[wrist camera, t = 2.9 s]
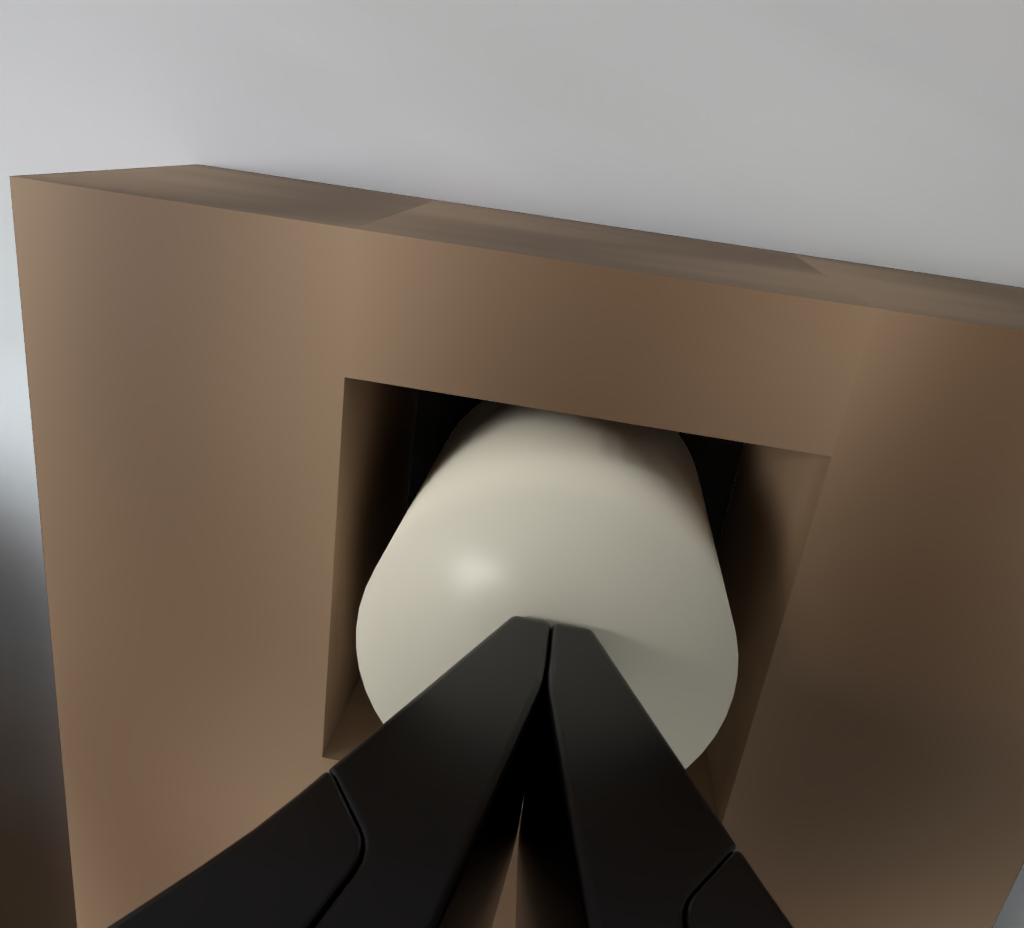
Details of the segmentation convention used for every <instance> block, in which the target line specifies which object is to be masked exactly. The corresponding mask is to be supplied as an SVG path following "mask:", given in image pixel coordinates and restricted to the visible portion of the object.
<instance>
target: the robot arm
mask: <svg viewBox="0 0 1024 928" xmlns="http://www.w3.org/2000/svg"><path fill="white" fill-rule="evenodd" d="M550 632H551V633H550ZM523 799H524V800H523ZM522 805H523V807H522ZM521 811H522V813H521ZM520 816H521V821H520ZM519 822H520V829H519V838H518V854H517V886H516V928H794V927H793V926H792V924H791V923H790V922H789V920H788V919H787V917H786V916H785V915H784V913H783V912H782V910H781V909H780V908H779V906H778V905H777V903H776V902H775V900H774V899H773V898H772V896H771V895H770V893H769V892H768V891H767V889H766V888H765V886H764V885H763V884H762V882H761V881H760V879H759V878H758V876H757V875H756V873H755V872H754V870H753V869H752V867H751V866H750V864H749V863H748V861H747V860H746V858H745V857H744V855H743V854H742V853H741V852H739V851H737V846H736V844H735V843H734V841H733V840H732V838H731V837H730V835H729V834H728V832H727V831H726V829H725V828H724V826H723V825H722V823H721V822H720V820H719V819H718V817H717V816H716V814H715V813H714V811H713V810H712V808H711V807H710V805H709V804H708V802H707V801H706V799H705V798H704V796H703V795H702V793H701V792H700V790H699V789H698V787H697V786H696V784H695V783H694V781H693V780H692V778H691V777H690V776H689V774H688V773H687V771H686V770H685V768H684V767H683V765H682V764H681V762H680V761H679V759H678V758H677V756H676V755H675V753H674V752H673V750H672V749H671V747H670V746H669V744H668V743H667V741H666V740H665V738H664V737H663V735H662V734H661V732H660V731H659V729H658V728H657V726H656V725H655V723H654V722H653V720H652V719H651V717H650V716H649V714H648V713H647V711H646V710H645V708H644V707H643V705H642V704H641V702H640V701H639V700H638V698H637V697H636V695H635V694H634V692H633V691H632V689H631V688H630V686H629V685H628V683H627V682H626V680H625V679H624V677H623V676H622V674H621V673H620V671H619V670H618V668H617V667H616V665H615V664H614V662H613V661H612V659H611V658H610V656H609V655H608V653H607V652H606V650H605V649H604V647H603V646H602V644H601V643H600V641H599V640H598V638H597V637H596V635H595V634H594V633H593V632H592V631H591V630H590V629H587V628H582V627H576V626H571V625H565V624H555V625H554V626H553V627H552V629H551V627H550V624H549V623H548V622H546V621H543V620H537V619H531V618H526V617H520V616H513V617H511V618H509V619H508V620H507V621H506V622H505V623H503V624H502V625H501V626H500V627H499V628H497V629H496V630H495V631H494V632H493V633H491V634H490V635H489V636H488V637H487V638H485V639H484V640H483V641H482V642H481V643H479V644H478V645H477V646H476V647H475V648H473V649H472V650H471V651H470V652H469V653H468V654H466V655H465V656H464V657H463V658H462V659H460V660H459V661H458V662H457V663H456V664H454V665H453V666H452V667H451V668H450V669H448V670H447V671H446V672H445V673H444V674H442V675H441V676H440V677H439V678H438V679H436V680H435V681H434V682H433V683H432V684H430V685H429V686H428V687H427V688H426V689H424V690H423V691H422V692H421V693H420V694H418V695H417V696H416V697H415V698H414V699H413V700H411V701H410V702H409V703H408V704H407V705H405V706H404V707H403V708H402V709H401V710H399V711H398V712H397V713H396V714H395V715H393V716H392V717H391V718H390V719H389V720H387V721H386V722H385V723H384V724H383V725H381V726H380V727H379V728H378V729H377V730H375V731H374V732H373V733H372V734H371V735H369V736H368V737H367V738H366V739H365V740H363V741H362V742H361V743H360V744H359V745H357V746H356V747H355V748H354V749H353V750H352V751H350V752H349V753H348V754H347V755H346V756H344V757H343V758H342V759H341V760H340V761H338V762H337V763H336V764H335V765H334V766H332V767H331V768H330V770H329V773H328V772H326V773H323V774H322V775H321V776H320V777H319V778H317V779H316V780H315V781H314V782H313V783H311V784H310V785H309V786H308V787H307V788H305V789H304V790H303V791H302V792H301V793H299V794H298V795H297V796H296V797H294V798H293V799H292V800H291V801H289V802H288V803H287V804H285V805H284V806H283V807H282V808H280V809H279V810H278V811H277V812H275V813H274V814H273V815H271V816H270V817H269V818H268V819H266V820H265V821H264V822H262V823H261V824H260V825H259V826H257V827H256V828H255V829H253V830H252V831H251V832H249V833H248V834H246V835H245V836H243V837H242V838H240V839H239V840H238V841H236V842H235V843H233V844H232V845H230V846H229V847H227V848H226V849H225V850H223V851H222V852H220V853H219V854H217V855H216V856H214V857H213V858H212V859H210V860H209V861H207V862H206V863H204V864H203V865H201V866H200V867H199V868H197V869H195V870H194V871H192V872H191V873H189V874H188V875H186V876H185V877H183V878H182V879H180V880H179V881H177V882H176V883H174V884H173V885H171V886H170V887H168V888H166V889H165V890H163V891H162V892H160V893H159V894H157V895H156V896H154V897H153V898H151V899H150V900H148V901H147V902H145V903H144V904H142V905H141V906H139V907H137V908H136V909H134V910H133V911H131V912H130V913H128V914H127V915H125V916H124V917H122V918H121V919H119V920H118V921H116V922H115V923H113V924H112V925H110V926H109V927H107V928H492V925H493V921H494V918H495V914H496V911H497V907H498V904H499V900H500V897H501V893H502V890H503V886H504V883H505V879H506V876H507V872H508V869H509V865H510V862H511V858H512V854H513V850H514V846H515V842H516V838H517V832H518V827H519Z"/></svg>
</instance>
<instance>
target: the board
mask: <svg viewBox="0 0 1024 928" xmlns="http://www.w3.org/2000/svg"><path fill="white" fill-rule="evenodd" d="M10 187H11V198H12V209H13V220H14V231H15V242H16V253H17V264H18V275H19V287H20V298H21V309H22V320H23V331H24V342H25V353H26V364H27V375H28V387H29V398H30V409H31V420H32V431H33V442H34V453H35V464H36V475H37V487H38V498H39V509H40V520H41V531H42V542H43V553H44V564H45V575H46V587H47V598H48V609H49V620H50V631H51V642H52V653H53V664H54V676H55V687H56V698H57V709H58V720H59V731H60V742H61V753H62V764H63V776H64V787H65V798H66V809H67V820H68V831H69V842H70V853H71V864H72V876H73V887H74V898H75V909H76V920H77V928H107V927H109V926H110V925H112V924H113V923H115V922H116V921H118V920H119V919H121V918H122V917H124V916H125V915H127V914H128V913H130V912H131V911H133V910H134V909H136V908H137V907H139V906H141V905H142V904H144V903H145V902H147V901H148V900H150V899H151V898H153V897H154V896H156V895H157V894H159V893H160V892H162V891H163V890H165V889H166V888H168V887H170V886H171V885H173V884H174V883H176V882H177V881H179V880H180V879H182V878H183V877H185V876H186V875H188V874H189V873H191V872H192V871H194V870H195V869H197V868H199V867H200V866H201V865H203V864H204V863H206V862H207V861H209V860H210V859H212V858H213V857H214V856H216V855H217V854H219V853H220V852H222V851H223V850H225V849H226V848H227V847H229V846H230V845H232V844H233V843H235V842H236V841H238V840H239V839H240V838H242V837H243V836H245V835H246V834H248V833H249V832H251V831H252V830H253V829H255V828H256V827H257V826H259V825H260V824H261V823H262V822H264V821H265V820H266V819H268V818H269V817H270V816H271V815H273V814H274V813H275V812H277V811H278V810H279V809H280V808H282V807H283V806H284V805H285V804H287V803H288V802H289V801H291V800H292V799H293V798H294V797H296V796H297V795H298V794H299V793H301V792H302V791H303V790H304V789H305V788H307V787H308V786H309V785H310V784H311V783H313V782H314V781H315V780H316V779H317V778H319V777H320V776H321V775H322V774H323V773H326V772H328V773H329V770H330V768H331V767H332V766H334V765H335V764H336V763H337V762H338V761H340V760H341V759H342V758H343V757H344V756H346V755H347V754H348V753H349V752H350V751H352V750H353V749H354V748H355V747H356V746H357V745H359V744H360V743H361V742H362V741H363V740H365V739H366V738H367V737H368V736H369V735H371V734H372V733H373V732H374V731H375V730H377V729H378V728H379V727H380V726H381V725H383V723H382V721H381V719H380V718H379V716H378V715H377V713H376V711H375V710H374V708H373V706H372V703H371V701H370V699H369V697H368V695H367V693H366V690H365V687H364V684H363V681H362V677H361V674H360V671H359V665H358V658H357V651H356V626H357V619H358V613H359V607H360V604H361V601H362V597H363V594H364V591H365V588H366V586H367V584H368V582H369V580H370V578H371V576H372V574H373V572H374V570H375V568H376V566H377V564H378V562H379V561H380V559H381V557H382V555H383V553H384V552H385V550H386V548H387V546H388V544H389V543H390V541H391V539H392V537H393V536H394V534H395V532H396V530H397V528H398V527H399V525H400V523H401V521H402V520H403V518H404V516H405V514H406V512H407V505H408V494H409V483H410V473H411V462H412V452H413V441H414V430H415V420H416V409H417V398H418V389H420V390H426V391H432V392H438V393H445V394H451V395H457V396H463V397H469V398H475V399H481V400H487V401H494V402H500V403H506V404H512V405H518V406H524V407H530V408H536V409H542V410H549V411H555V412H561V413H567V414H573V415H579V416H585V417H591V418H598V419H604V420H610V421H616V422H622V423H628V424H634V425H640V426H646V427H653V428H659V429H665V430H671V431H677V432H683V433H689V434H695V435H701V436H708V437H714V438H720V439H726V440H732V441H738V442H744V445H743V449H742V453H741V457H740V461H739V465H738V469H737V473H736V477H735V481H734V485H733V489H732V493H731V496H730V500H729V504H728V508H727V512H726V516H725V520H724V524H723V528H722V532H721V536H720V540H719V544H718V548H717V551H716V552H717V556H718V561H719V565H720V569H721V573H722V577H723V581H724V585H725V590H726V594H727V598H728V602H729V606H730V610H731V614H732V619H733V623H734V627H735V631H736V638H737V647H738V676H737V681H736V686H735V691H734V696H733V699H732V702H731V705H730V707H729V710H728V713H727V715H726V718H725V720H724V721H723V723H722V725H721V727H720V729H719V730H718V732H717V734H716V736H715V737H714V738H713V740H712V741H711V742H710V744H709V745H708V746H707V748H706V749H705V750H704V751H703V753H702V754H701V755H700V756H699V757H698V758H697V759H696V760H695V761H694V762H693V763H692V764H691V765H690V766H689V767H687V768H686V769H685V770H686V771H687V773H688V774H689V776H690V777H691V778H692V780H693V781H694V783H695V784H696V786H697V787H698V789H699V790H700V792H701V793H702V795H703V796H704V798H705V799H706V801H707V802H708V804H709V805H710V807H711V808H712V810H713V811H714V813H715V814H716V816H717V817H718V819H719V820H720V822H721V823H722V825H723V826H724V828H725V829H726V831H727V832H728V834H729V835H730V837H731V838H732V840H733V841H734V843H735V844H736V846H737V851H739V852H741V853H742V854H743V855H744V857H745V858H746V860H747V861H748V863H749V864H750V866H751V867H752V869H753V870H754V872H755V873H756V875H757V876H758V878H759V879H760V881H761V882H762V884H763V885H764V886H765V888H766V889H767V891H768V892H769V893H770V895H771V896H772V898H773V899H774V900H775V902H776V903H777V905H778V906H779V908H780V909H781V910H782V912H783V913H784V915H785V916H786V917H787V919H788V920H789V922H790V923H791V924H792V926H793V927H794V928H992V927H993V925H994V923H995V921H996V919H997V917H998V915H999V913H1000V911H1001V909H1002V907H1003V904H1004V902H1005V900H1006V898H1007V896H1008V894H1009V892H1010V890H1011V888H1012V886H1013V884H1014V882H1015V880H1016V878H1017V876H1018V874H1019V872H1020V870H1021V868H1022V866H1023V864H1024V288H1020V287H1013V286H1006V285H1000V284H993V283H986V282H980V281H973V280H966V279H960V278H953V277H946V276H939V275H933V274H926V273H919V272H913V271H906V270H899V269H893V268H886V267H879V266H873V265H866V264H859V263H853V262H846V261H839V260H833V259H826V258H819V257H813V256H806V255H799V254H792V253H786V252H779V251H772V250H766V249H759V248H752V247H746V246H739V245H732V244H726V243H719V242H712V241H706V240H699V239H692V238H686V237H679V236H672V235H665V234H659V233H652V232H645V231H639V230H632V229H625V228H619V227H612V226H605V225H599V224H592V223H585V222H579V221H572V220H565V219H559V218H552V217H545V216H539V215H532V214H525V213H518V212H512V211H505V210H498V209H492V208H485V207H478V206H472V205H465V204H458V203H452V202H445V201H438V200H432V199H425V198H418V197H412V196H405V195H398V194H392V193H385V192H378V191H371V190H365V189H358V188H351V187H345V186H338V185H331V184H325V183H318V182H311V181H305V180H298V179H291V178H285V177H278V176H271V175H265V174H258V173H251V172H245V171H238V170H231V169H224V168H218V167H211V166H204V165H198V164H196V165H180V166H164V167H148V168H132V169H116V170H100V171H84V172H68V173H52V174H36V175H20V176H10ZM521 813H522V811H521ZM520 821H521V816H520ZM519 829H520V822H519V827H518V832H517V838H516V842H515V846H514V850H513V854H512V858H511V862H510V865H509V869H508V872H507V876H506V879H505V883H504V886H503V890H502V893H501V897H500V900H499V904H498V907H497V911H496V914H495V918H494V921H493V925H492V928H516V886H517V854H518V838H519Z"/></svg>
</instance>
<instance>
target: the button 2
mask: <svg viewBox="0 0 1024 928" xmlns="http://www.w3.org/2000/svg"><path fill="white" fill-rule="evenodd" d="M513 616H520V617H526V618H531V619H537V620H543V621H546V622H548V623H549V624H550V627H551V629H552V627H553V626H554V625H555V624H565V625H571V626H576V627H582V628H587V629H590V630H591V631H592V632H593V633H594V634H595V635H596V637H597V638H598V640H599V641H600V643H601V644H602V646H603V647H604V649H605V650H606V652H607V653H608V655H609V656H610V658H611V659H612V661H613V662H614V664H615V665H616V667H617V668H618V670H619V671H620V673H621V674H622V676H623V677H624V679H625V680H626V682H627V683H628V685H629V686H630V688H631V689H632V691H633V692H634V694H635V695H636V697H637V698H638V700H639V701H640V702H641V704H642V705H643V707H644V708H645V710H646V711H647V713H648V714H649V716H650V717H651V719H652V720H653V722H654V723H655V725H656V726H657V728H658V729H659V731H660V732H661V734H662V735H663V737H664V738H665V740H666V741H667V743H668V744H669V746H670V747H671V749H672V750H673V752H674V753H675V755H676V756H677V758H678V759H679V761H680V762H681V764H682V765H683V767H684V768H685V769H686V768H687V767H689V766H690V765H691V764H692V763H693V762H694V761H695V760H696V759H697V758H698V757H699V756H700V755H701V754H702V753H703V751H704V750H705V749H706V748H707V746H708V745H709V744H710V742H711V741H712V740H713V738H714V737H715V736H716V734H717V732H718V730H719V729H720V727H721V725H722V723H723V721H724V720H725V718H726V715H727V713H728V710H729V707H730V705H731V702H732V699H733V696H734V691H735V686H736V681H737V676H738V647H737V638H736V631H735V627H734V623H733V619H732V614H731V610H730V606H729V602H728V598H727V594H726V590H725V585H724V581H723V577H722V573H721V569H720V565H719V561H718V556H717V552H716V548H715V544H714V540H713V536H712V531H711V527H710V523H709V519H708V515H707V511H706V507H705V502H704V498H703V494H702V490H701V486H700V482H699V478H698V474H697V471H696V467H695V464H694V461H693V459H692V457H691V455H690V452H689V450H688V448H687V446H686V445H685V443H684V442H683V440H682V438H681V437H680V435H679V433H678V432H677V431H671V430H665V429H659V428H653V427H646V426H640V425H634V424H628V423H622V422H616V421H610V420H604V419H598V418H591V417H585V416H579V415H573V414H567V413H561V412H555V411H549V410H542V409H536V408H530V407H524V406H518V405H512V404H506V403H500V402H494V401H487V400H484V401H482V402H481V403H480V404H478V405H477V406H476V407H475V408H474V409H472V410H471V411H470V412H469V413H468V414H467V415H466V416H465V417H464V418H463V419H462V420H461V421H460V423H459V424H458V425H457V426H456V428H455V429H454V431H453V432H452V433H451V435H450V436H449V438H448V439H447V441H446V443H445V445H444V447H443V448H442V450H441V452H440V454H439V455H438V457H437V459H436V461H435V463H434V464H433V466H432V468H431V470H430V471H429V473H428V475H427V477H426V479H425V480H424V482H423V484H422V486H421V487H420V489H419V491H418V493H417V495H416V496H415V498H414V500H413V502H412V504H411V505H410V507H409V509H408V511H407V512H406V514H405V516H404V518H403V520H402V521H401V523H400V525H399V527H398V528H397V530H396V532H395V534H394V536H393V537H392V539H391V541H390V543H389V544H388V546H387V548H386V550H385V552H384V553H383V555H382V557H381V559H380V561H379V562H378V564H377V566H376V568H375V570H374V572H373V574H372V576H371V578H370V580H369V582H368V584H367V586H366V588H365V591H364V594H363V597H362V601H361V604H360V607H359V613H358V619H357V626H356V651H357V658H358V665H359V671H360V674H361V677H362V681H363V684H364V687H365V690H366V693H367V695H368V697H369V699H370V701H371V703H372V706H373V708H374V710H375V711H376V713H377V715H378V716H379V718H380V719H381V721H382V723H383V724H384V723H385V722H386V721H387V720H389V719H390V718H391V717H392V716H393V715H395V714H396V713H397V712H398V711H399V710H401V709H402V708H403V707H404V706H405V705H407V704H408V703H409V702H410V701H411V700H413V699H414V698H415V697H416V696H417V695H418V694H420V693H421V692H422V691H423V690H424V689H426V688H427V687H428V686H429V685H430V684H432V683H433V682H434V681H435V680H436V679H438V678H439V677H440V676H441V675H442V674H444V673H445V672H446V671H447V670H448V669H450V668H451V667H452V666H453V665H454V664H456V663H457V662H458V661H459V660H460V659H462V658H463V657H464V656H465V655H466V654H468V653H469V652H470V651H471V650H472V649H473V648H475V647H476V646H477V645H478V644H479V643H481V642H482V641H483V640H484V639H485V638H487V637H488V636H489V635H490V634H491V633H493V632H494V631H495V630H496V629H497V628H499V627H500V626H501V625H502V624H503V623H505V622H506V621H507V620H508V619H509V618H511V617H513ZM550 633H551V632H550ZM523 800H524V799H523ZM522 807H523V805H522Z"/></svg>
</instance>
